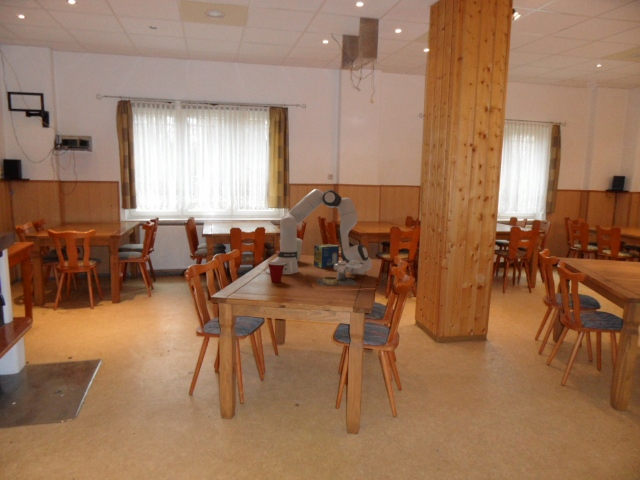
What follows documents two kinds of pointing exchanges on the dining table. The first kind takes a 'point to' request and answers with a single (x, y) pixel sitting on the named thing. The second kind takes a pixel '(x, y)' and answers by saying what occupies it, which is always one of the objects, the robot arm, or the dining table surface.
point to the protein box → (326, 255)
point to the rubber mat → (339, 282)
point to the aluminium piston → (341, 271)
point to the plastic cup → (276, 271)
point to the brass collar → (330, 280)
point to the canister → (299, 245)
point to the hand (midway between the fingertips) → (340, 270)
